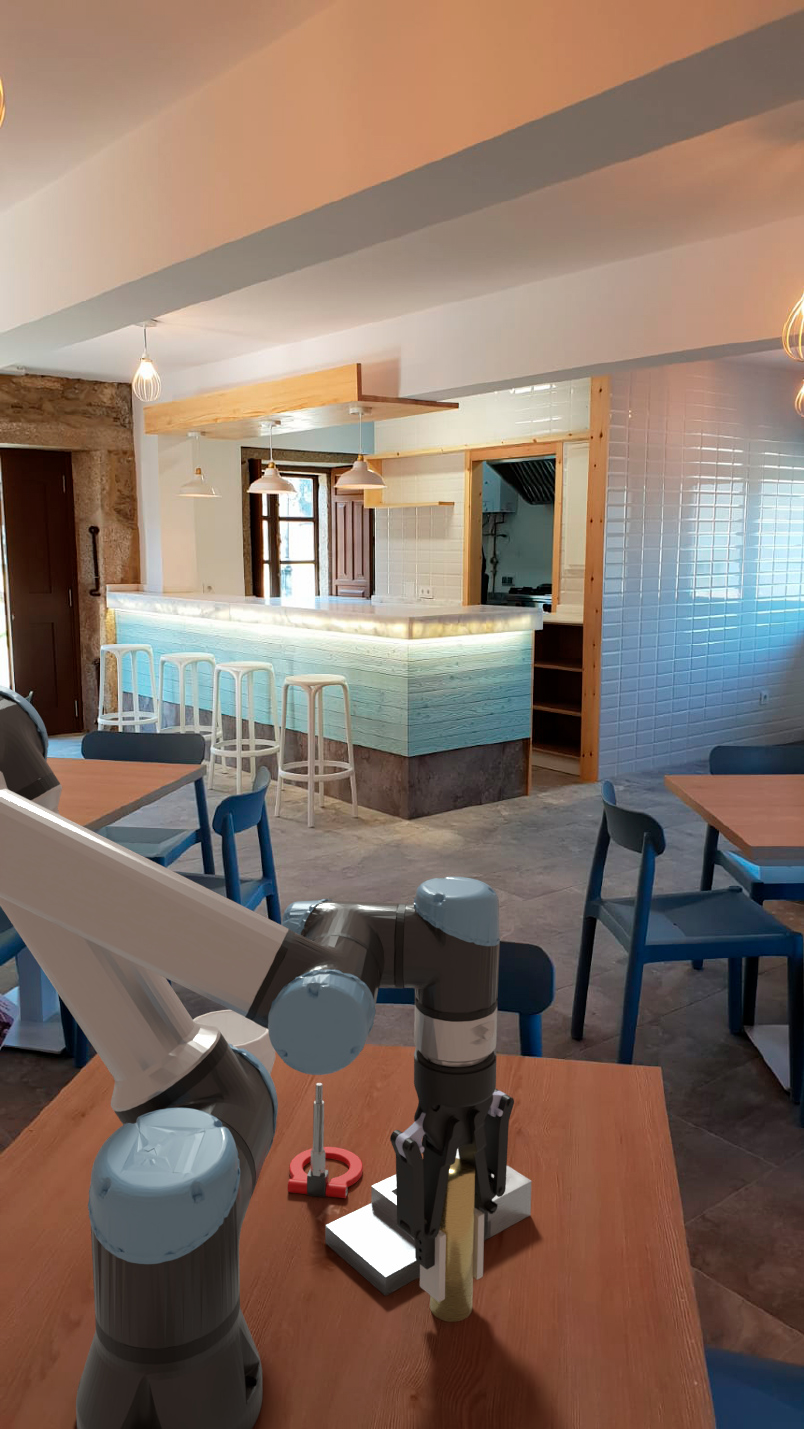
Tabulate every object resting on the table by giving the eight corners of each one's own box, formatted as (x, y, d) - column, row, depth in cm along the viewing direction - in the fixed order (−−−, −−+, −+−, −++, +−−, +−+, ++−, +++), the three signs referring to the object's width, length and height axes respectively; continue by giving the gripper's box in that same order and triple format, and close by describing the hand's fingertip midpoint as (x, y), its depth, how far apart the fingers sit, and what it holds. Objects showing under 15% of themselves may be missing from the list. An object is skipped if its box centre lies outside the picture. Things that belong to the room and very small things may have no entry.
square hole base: (385, 1296, 100) (385, 1258, 100) (325, 1243, 108) (325, 1207, 107) (530, 1215, 113) (531, 1180, 112) (467, 1172, 120) (468, 1140, 120)
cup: (160, 1103, 135) (158, 1032, 134) (227, 1065, 145) (226, 999, 144) (229, 1133, 128) (228, 1059, 127) (295, 1091, 138) (294, 1023, 137)
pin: (449, 1328, 96) (451, 1188, 94) (421, 1304, 99) (423, 1168, 97) (481, 1308, 99) (484, 1172, 97) (452, 1286, 102) (455, 1153, 100)
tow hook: (299, 1152, 125) (278, 1195, 116) (300, 1049, 124) (280, 1084, 115) (368, 1159, 124) (353, 1203, 115) (370, 1055, 123) (355, 1091, 113)
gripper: (408, 1095, 87) (406, 1347, 90) (550, 1036, 98) (543, 1264, 101) (354, 1061, 92) (354, 1299, 96) (494, 1009, 103) (489, 1225, 107)
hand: (451, 1280), depth 98 cm, fingers open, 4 cm apart
